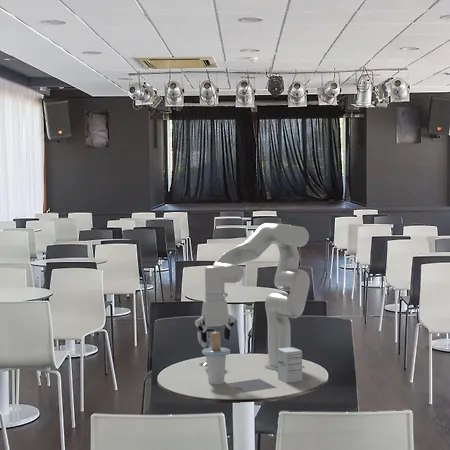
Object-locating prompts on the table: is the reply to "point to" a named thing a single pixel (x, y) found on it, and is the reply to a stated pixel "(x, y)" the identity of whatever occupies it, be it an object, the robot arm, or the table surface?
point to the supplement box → (289, 364)
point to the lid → (216, 347)
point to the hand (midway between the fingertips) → (215, 340)
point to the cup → (216, 369)
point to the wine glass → (208, 343)
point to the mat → (251, 385)
